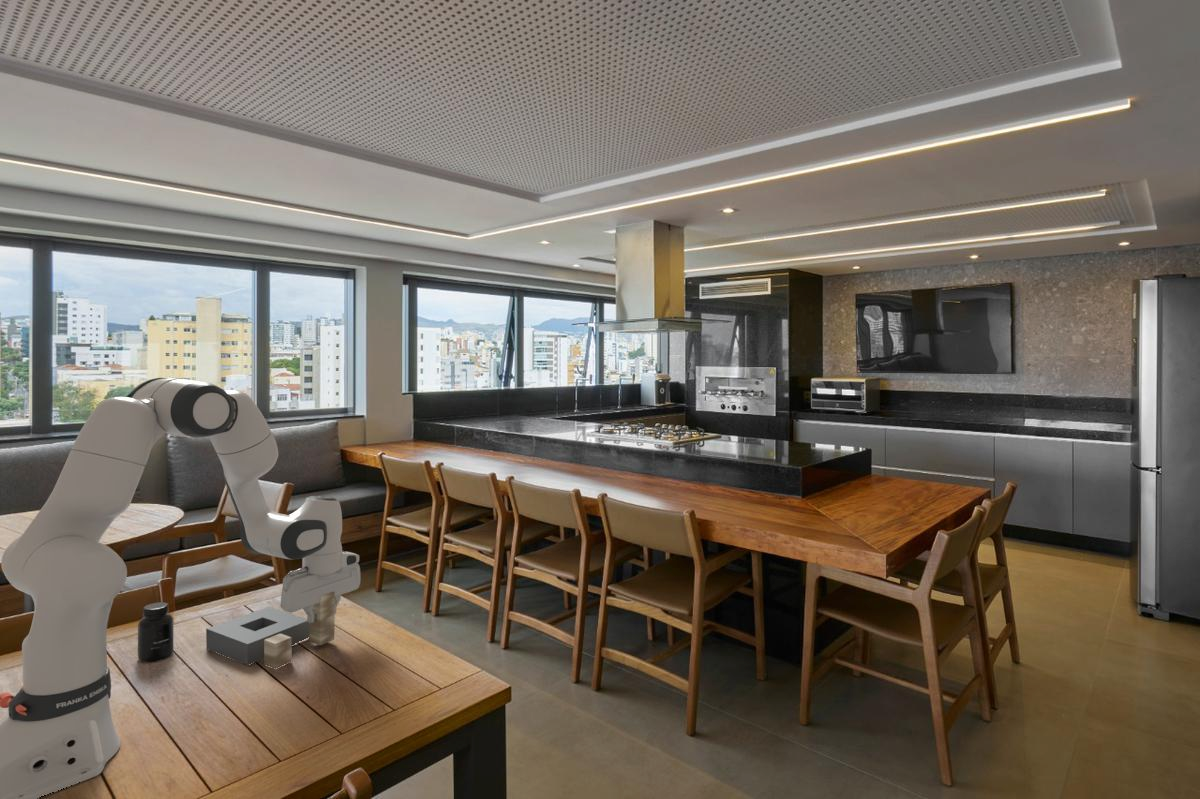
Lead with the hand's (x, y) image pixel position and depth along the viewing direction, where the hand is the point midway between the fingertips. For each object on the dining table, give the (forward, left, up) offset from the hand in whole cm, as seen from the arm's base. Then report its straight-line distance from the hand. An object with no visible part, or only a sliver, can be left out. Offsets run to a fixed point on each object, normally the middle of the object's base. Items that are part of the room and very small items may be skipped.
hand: (322, 617), depth 156 cm
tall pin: (0, 0, -6) cm, 6 cm away
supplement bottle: (-24, +27, -7) cm, 37 cm away
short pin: (-12, 0, -7) cm, 13 cm away
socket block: (-8, +13, -7) cm, 16 cm away
